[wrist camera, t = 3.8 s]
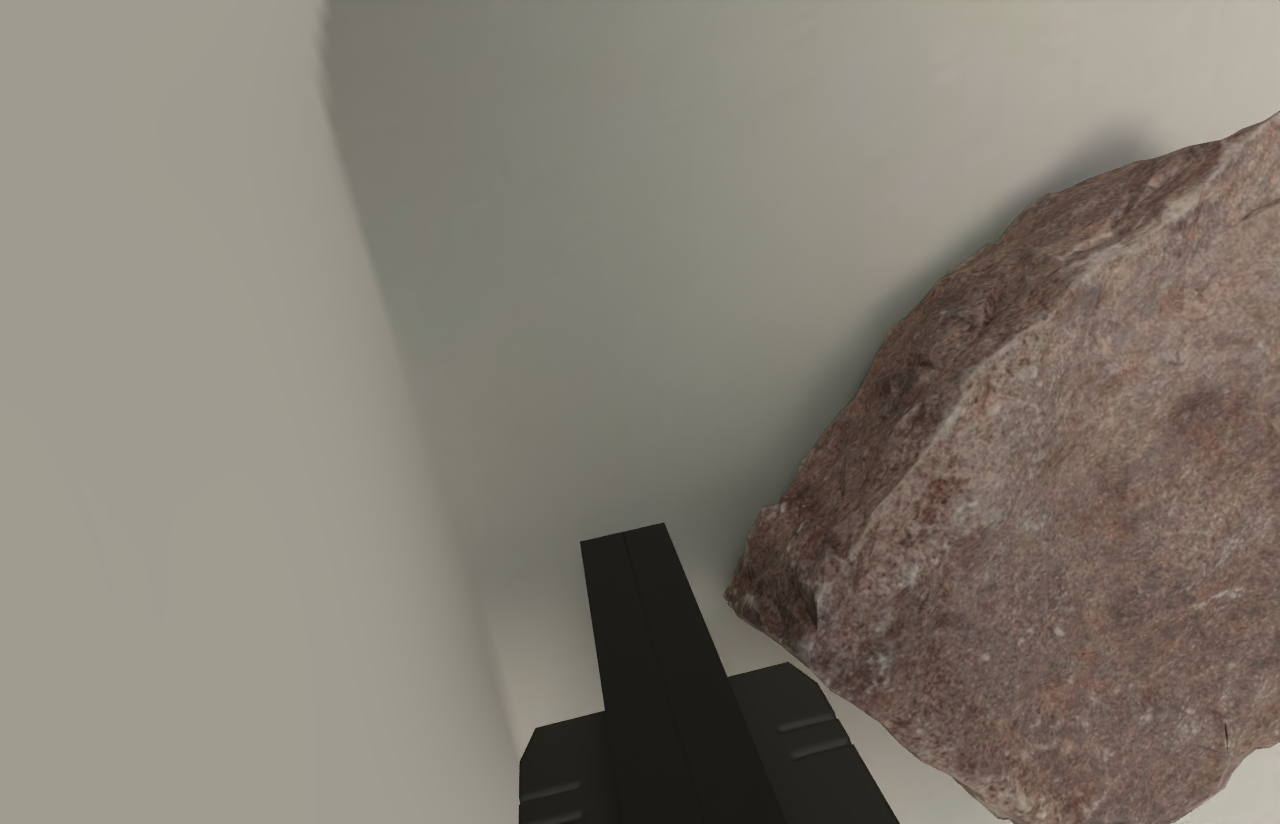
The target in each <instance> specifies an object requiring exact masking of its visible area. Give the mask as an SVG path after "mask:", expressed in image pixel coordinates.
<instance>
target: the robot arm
mask: <svg viewBox="0 0 1280 824" xmlns="http://www.w3.org/2000/svg"><path fill="white" fill-rule="evenodd" d="M580 545H581V551H582V558H583V565H584V572H585V578H586V585H587V592H588V599H589V605H590V612H591V619H592V626H593V632H594V639H595V646H596V653H597V659H598V666H599V673H600V680H601V686H602V693H603V700H604V707H605V711H602V712H598V713H594V714H590V715H586V716H582V717H578V718H574V719H570V720H566V721H562V722H558V723H554V724H550V725H546V726H542V727H538V728H535V730H534V732H533V735H532V737H531V739H530V741H529V743H528V745H527V747H526V749H525V752H524V754H523V756H522V758H521V760H520V773H519V774H520V775H519V799H520V805H519V824H900V823H899V821H898V820H897V818H896V816H895V815H894V813H893V811H892V809H891V808H890V806H889V804H888V803H887V801H886V799H885V798H884V796H883V794H882V792H881V791H880V789H879V787H878V786H877V784H876V782H875V780H874V779H873V777H872V775H871V774H870V772H869V770H868V769H867V767H866V765H865V763H864V762H863V760H862V758H861V757H860V755H859V753H858V751H857V750H856V748H855V746H854V745H853V744H851V742H850V738H849V736H848V734H847V733H846V731H845V729H844V728H843V726H842V724H841V722H840V721H839V719H837V718H836V716H835V712H834V711H833V709H832V707H831V705H830V704H829V702H828V700H827V699H826V697H825V695H824V694H823V692H822V690H821V688H820V687H819V685H818V683H817V682H815V681H814V680H812V679H811V678H810V677H808V676H807V675H806V674H804V673H803V672H802V671H800V670H799V669H797V668H796V667H795V666H793V665H792V664H791V663H789V662H786V663H782V664H778V665H774V666H770V667H766V668H762V669H758V670H754V671H750V672H746V673H742V674H738V675H734V676H730V677H727V675H726V673H725V670H724V668H723V665H722V663H721V660H720V658H719V656H718V653H717V651H716V648H715V646H714V643H713V641H712V638H711V636H710V634H709V631H708V629H707V626H706V624H705V621H704V619H703V616H702V614H701V612H700V609H699V607H698V604H697V602H696V599H695V597H694V594H693V592H692V590H691V587H690V585H689V582H688V580H687V577H686V575H685V572H684V570H683V567H682V565H681V563H680V560H679V558H678V555H677V553H676V550H675V548H674V545H673V543H672V541H671V538H670V536H669V533H668V531H667V528H666V526H665V523H660V524H655V525H651V526H647V527H642V528H638V529H634V530H629V531H625V532H620V533H616V534H612V535H607V536H603V537H599V538H594V539H590V540H586V541H581V542H580Z"/></svg>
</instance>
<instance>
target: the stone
mask: <svg viewBox="0 0 1280 824" xmlns="http://www.w3.org/2000/svg"><path fill="white" fill-rule="evenodd" d="M723 597H724V598H725V599H726V600H727V602H728V605H729V606H730V607H731V608H732V609H733V610H734V612H735V613H736V615H737V616H738V617H739V618H741V619H742V620H744V621H745V622H747V623H748V624H749V625H751V626H753V627H754V628H756V629H758V630H759V631H761V632H764V633H765V634H766V635H768V636H769V637H770V638H772V639H773V640H774V641H776V642H777V643H778V644H780V645H781V646H782V647H784V648H785V649H786V650H787V651H788V652H789V653H791V654H792V655H793V656H794V657H796V658H797V659H798V660H799V661H800V662H802V663H803V664H804V665H805V666H807V667H808V668H809V669H810V670H811V671H812V672H813V673H814V674H815V675H816V676H817V677H818V678H819V679H820V680H821V681H822V682H823V683H824V684H825V685H826V686H827V687H828V688H829V689H830V690H831V691H832V692H834V693H835V694H837V695H839V696H840V697H842V698H844V699H845V700H847V701H849V702H850V703H852V704H854V705H855V706H856V707H858V708H859V709H861V710H862V711H864V712H865V713H866V714H868V715H869V716H871V717H872V718H874V719H875V720H877V721H878V722H879V723H880V724H881V725H882V726H883V727H884V728H885V729H886V730H887V731H888V732H889V733H890V734H891V735H892V736H893V737H894V738H895V739H896V740H897V741H898V742H899V743H900V744H901V745H902V746H903V747H904V748H906V749H907V750H908V751H909V752H911V753H912V754H913V755H914V756H915V757H917V758H918V759H919V760H920V761H922V762H924V763H926V764H928V765H930V766H932V767H934V768H936V769H938V770H940V771H942V772H944V773H946V774H948V775H950V776H952V777H953V778H954V780H955V781H956V782H957V783H958V784H960V785H961V786H962V787H963V788H964V789H965V790H966V791H967V792H968V793H969V794H970V795H971V796H972V797H974V798H975V799H976V800H978V801H979V802H980V803H981V804H982V805H983V806H985V807H986V808H987V809H988V810H989V811H990V812H991V813H992V814H993V815H994V816H995V817H996V818H998V819H1002V820H1008V819H1009V820H1010V821H1011V822H1012V823H1014V824H1170V823H1174V822H1176V821H1177V820H1179V819H1180V818H1182V817H1183V816H1185V815H1186V814H1188V813H1189V812H1191V811H1192V810H1194V809H1195V808H1197V807H1198V806H1200V805H1201V804H1203V803H1204V802H1206V801H1207V800H1209V799H1210V798H1211V797H1213V796H1214V795H1216V794H1217V793H1218V792H1220V791H1221V790H1223V789H1224V788H1225V787H1226V785H1227V783H1228V781H1229V778H1230V776H1231V774H1232V773H1233V772H1234V770H1235V769H1236V768H1237V767H1238V766H1239V764H1240V763H1241V762H1242V761H1243V760H1244V758H1245V757H1247V756H1248V755H1249V754H1251V753H1252V752H1253V751H1254V750H1256V749H1261V748H1270V747H1272V746H1274V745H1276V744H1277V743H1279V742H1280V111H1279V112H1277V113H1276V114H1274V115H1273V116H1271V117H1269V118H1268V119H1266V120H1265V121H1263V122H1260V123H1257V124H1255V125H1252V126H1249V127H1246V128H1244V129H1241V130H1240V131H1238V132H1236V133H1235V134H1233V135H1231V136H1229V137H1227V138H1225V139H1222V140H1218V141H1213V142H1208V143H1203V144H1197V145H1192V146H1188V147H1185V148H1183V149H1180V150H1177V151H1174V152H1172V153H1169V154H1166V155H1163V156H1161V157H1157V158H1154V159H1150V160H1142V161H1136V162H1134V163H1131V164H1129V165H1126V166H1124V167H1121V168H1118V169H1115V170H1113V171H1110V172H1107V173H1104V174H1101V175H1098V176H1095V177H1092V178H1089V179H1086V180H1084V181H1082V182H1081V183H1079V184H1077V185H1075V186H1073V187H1071V188H1069V189H1067V190H1065V191H1063V192H1061V193H1048V194H1046V195H1045V196H1043V197H1042V198H1040V199H1038V200H1037V201H1035V202H1034V203H1032V204H1031V205H1029V206H1027V207H1026V208H1025V209H1024V210H1023V211H1022V213H1021V214H1020V215H1019V216H1018V217H1017V218H1016V219H1015V220H1014V221H1013V222H1012V223H1011V225H1010V226H1009V227H1008V228H1007V229H1006V231H1005V232H1004V233H1003V235H1002V236H1001V237H1000V239H999V240H998V241H996V242H993V243H990V244H988V245H985V246H984V247H983V248H981V249H980V250H979V251H978V252H976V253H975V254H974V255H972V256H971V257H970V258H968V259H967V260H965V261H964V262H963V263H961V264H960V265H958V266H957V267H955V268H954V269H953V270H951V271H950V272H949V273H947V274H946V275H945V276H944V277H942V278H941V279H940V280H938V281H937V283H936V284H935V285H934V286H933V288H932V289H931V290H930V291H929V293H928V294H927V295H926V296H925V298H924V299H923V300H922V301H921V302H920V303H919V304H918V305H917V306H916V307H915V308H914V309H913V310H912V311H911V312H910V313H909V314H908V316H906V317H905V318H903V319H902V320H900V321H898V322H897V323H895V324H894V325H892V327H891V329H890V331H889V333H888V335H887V337H886V339H885V342H884V344H883V346H882V347H881V349H880V350H879V351H878V353H877V354H876V357H875V360H874V362H873V364H872V366H871V368H870V370H869V372H868V374H867V376H866V378H865V379H864V381H863V383H862V384H861V386H860V388H859V390H858V392H857V394H856V396H855V398H854V399H853V400H852V401H851V402H850V403H849V404H848V405H847V406H846V407H845V408H844V409H843V410H842V411H841V412H840V413H839V414H838V415H837V416H836V417H835V419H834V420H833V421H832V422H831V424H830V425H829V426H828V427H827V429H826V430H825V431H824V433H823V434H822V436H821V437H820V439H819V440H818V441H817V443H816V444H815V446H814V447H813V448H812V450H811V451H810V452H809V453H808V454H807V456H806V457H805V458H804V459H803V460H802V462H801V463H800V466H799V470H798V475H797V478H796V479H795V480H794V481H793V483H792V487H791V490H789V491H788V492H786V493H785V494H783V495H782V497H781V498H780V500H779V501H778V503H777V504H774V505H770V506H767V507H763V509H762V511H761V512H760V514H759V516H758V518H757V520H756V521H755V523H754V525H753V527H752V529H751V530H750V532H749V534H748V536H747V548H746V552H745V553H744V554H743V556H742V557H741V558H740V560H739V563H738V566H737V569H736V571H735V573H734V575H733V577H732V579H731V581H730V584H729V586H728V588H727V589H726V591H725V593H724V595H723Z"/></svg>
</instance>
